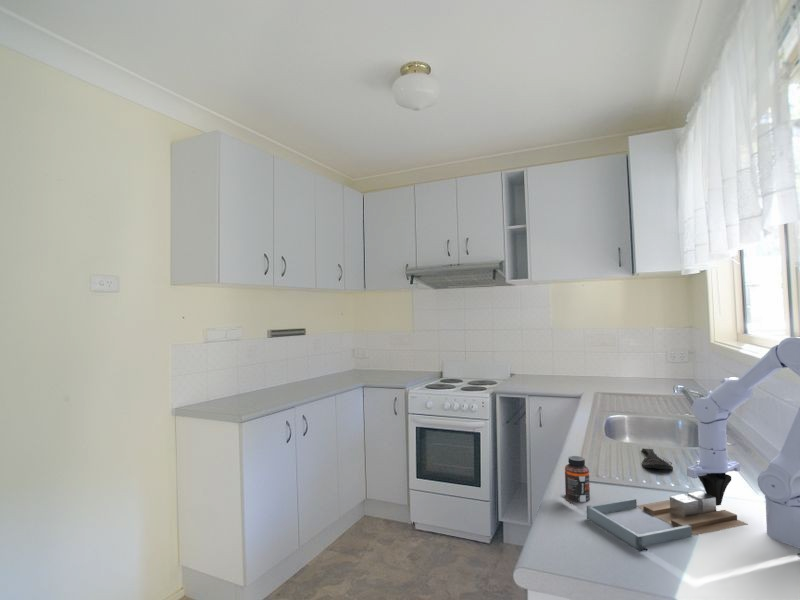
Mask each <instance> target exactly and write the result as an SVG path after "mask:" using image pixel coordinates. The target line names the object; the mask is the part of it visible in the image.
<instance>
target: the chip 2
mask: <svg viewBox="0 0 800 600" xmlns="http://www.w3.org/2000/svg"><path fill="white" fill-rule="evenodd" d="M687 496H688V497H691V498H693V499H695V500H698V515H700V514H705V513H710V512H715V511H716V510H717V506H716V497H714V496H711V495H709V494H706V492H703V491H702V490H701V491H700V490H699V491H693V492H687Z"/></svg>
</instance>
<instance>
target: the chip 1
mask: <svg viewBox="0 0 800 600" xmlns="http://www.w3.org/2000/svg"><path fill="white" fill-rule="evenodd" d="M669 500H670V513H671V514H673V515H675V516H677V517H679V518H684V517H689V516H694V515H698V500H695V499H693V498H691V497H688V495H686V494H683V493H681V494H675V495H670V496H669Z"/></svg>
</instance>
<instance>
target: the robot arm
mask: <svg viewBox="0 0 800 600" xmlns="http://www.w3.org/2000/svg"><path fill="white" fill-rule="evenodd" d="M787 368H789V369H790V370H791V371H792V372H793V373H795V374H796V376H798V377H800V336H791V337H790V336H789V337H787V338H786V337H785V338H784V339H783V340H781V341H780V342H779V344H776V345H774V346H772V347H771V348H770V349H769V350H768V351H767V352H766V353H765V354H764V355H763V356H762V357H760V358H759V359H758V360H757V361H756V362H755V363H754V364H752V365H751V367H749V368H748V369H747V370H746V371H745V372H744V373H742V375H740V376H739V377H733V376H731V377H729V378H728V377H725V378H723V379H721V380H720V383H721V384H720V385H718V386H717V387H716V388H715V389H713V390H708V392H707V393H706V397H698V398H695V400H694V401H693V403H692V406H691V413H692V414H693V416H694V417H695V419H697V433H698V439H697V440H698V454H699V455H698V458H699V460H695V462H696V463H695V464H694V465H691V466H689V467H686V476H687V477H690V478H692V479H697V478H698V479H699V481H700V482H701V484H702V487H703V488H704V491H705V493H706V494H709V495H711V496H714V497H716V507H718V506H721V505H722V502H723V498H724V495H725V492H726V490H727V487H728V485H729V484H730V483H731V481H732V476H731V475H729V474H726V473H728V472H729V473H730V472H740V471H741V463H739V462H737V461H734V460H729V461H728V459H729V458H728V440H727V439H728V438H727V437H728V436H727V434H728V433H727V426H728V420H729V419H730V418H731V416H732V414H733V413H732V412H733V411H735V410H736V409H737V408H739V407H740V406H742V405H743V404H744V403H746V402H747V401H748V400H750V399H751V398H753V395H754V394H753V389H755V388H756V387H757V386H759V385H761V384H762V383H764V382H765V381H766V380H768V379H769V378H771V377H772V376H774V375H775V374H777V373H778V372H780V371H781V370H783V369H787ZM756 481H757V486H758V488H759V490H760V492H762V494H763V495H764V499H765V517H766V534H767V536H768V537H770V538H771V539H773V540H775V541H777V542H780V543H784V544H785V545H788V546H789V545H790V546H792V547H794V548H796V549H799V550H800V406H799V407H798V409H797V412H796V414H795V416H794V419H793V422H792V424H791V426H790V429H789V431H788V432H787V435H786V438H785V440H784V442H783V445H782V447H781V450H780V453H778V455H776V456H775V457H774V458H773V459H772V460H771V461H770V462H769V465H768V466H767V468H766V469H765V470H763V471H761V472H760V473H759V474H758V476H757V480H756ZM796 554H797V555H799V556H800V552H797V553H796Z"/></svg>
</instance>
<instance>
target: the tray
mask: <svg viewBox="0 0 800 600" xmlns="http://www.w3.org/2000/svg"><path fill="white" fill-rule="evenodd" d="M637 503H638V501H637V499H636V498H635V497H632V498H627V499H620V500H614V501H609V502H603V503H597V504H596V503H595V504H591V505H586V519H587V520H588V519H589V520H588V521H590V522H591V521H592V523H593V524H594V525H596V526H598V527H600V528H601V529H602V530H603V531H606V532H607V533H609V534H611V535H612V536H613V537H615V538H617V539H618V540H619V541H621V542H623V543H625V544H626V545H628V546H629V547H631V548H633V549H634V550H636V551H637V552H639V553H641V552H644V551H648V550H649V549H648V548H647V546H651V545H657V544H659V543H665V542H670V541H674V540H678V539H679V540H680V539H684V538H685V539H686V538H690V537H692V536H693V535H692V530H691V526H689V525H685V526H680V527H675V526H674V527H670V528H665V529H660V530H656V531H650V532H646V533H645V532H644V533H641V534H640V533H638V532H635V531H633V530H632V529H630V528H628V527H626V525H623V524H622V523H620V522H618V521H616V520H614V519H613V518H611V517H610V516H608V515H606V514H610V513H615V512H621V511H626V510H631V509H637V508H638V507H637V506H638V504H637Z"/></svg>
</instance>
